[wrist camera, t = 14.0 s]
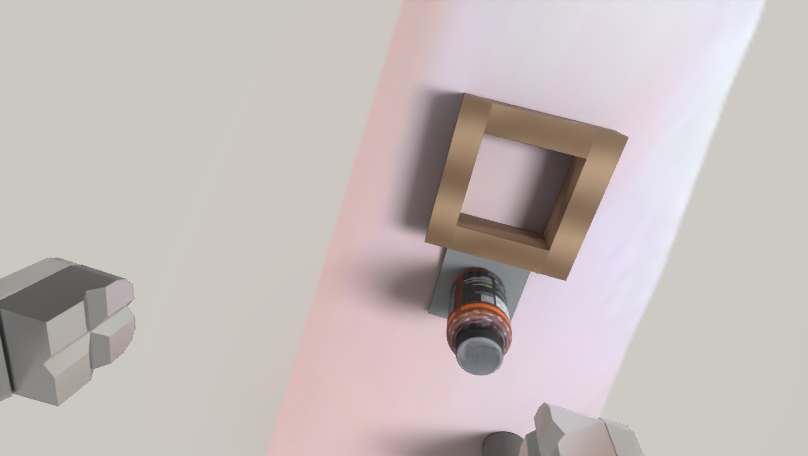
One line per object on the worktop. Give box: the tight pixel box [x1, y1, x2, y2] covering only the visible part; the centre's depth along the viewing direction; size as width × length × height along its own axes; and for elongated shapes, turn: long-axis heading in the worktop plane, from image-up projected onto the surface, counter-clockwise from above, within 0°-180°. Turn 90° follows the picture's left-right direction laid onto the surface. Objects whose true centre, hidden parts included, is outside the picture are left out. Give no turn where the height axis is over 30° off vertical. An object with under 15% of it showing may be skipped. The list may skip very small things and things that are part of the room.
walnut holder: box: [425, 93, 629, 281], centre depth 40 cm, size 14×14×4 cm
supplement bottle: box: [447, 268, 512, 375], centre depth 40 cm, size 6×6×11 cm
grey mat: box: [428, 248, 530, 322], centre depth 46 cm, size 9×9×1 cm
